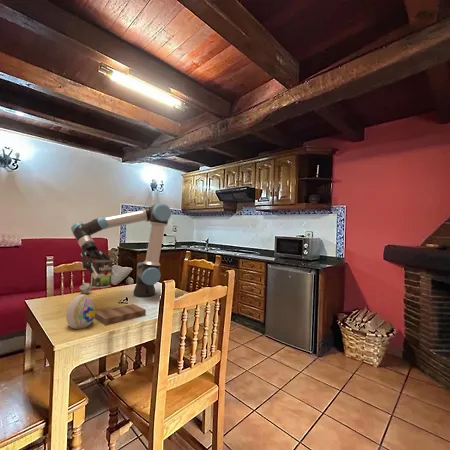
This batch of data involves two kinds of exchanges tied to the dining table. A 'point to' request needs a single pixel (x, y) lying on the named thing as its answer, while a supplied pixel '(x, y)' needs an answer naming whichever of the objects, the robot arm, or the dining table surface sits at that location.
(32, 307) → the dining table surface
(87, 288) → the game die
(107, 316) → the walnut board
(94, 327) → the dining table surface
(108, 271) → the coffee can
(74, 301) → the decorative egg
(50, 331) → the dining table surface
